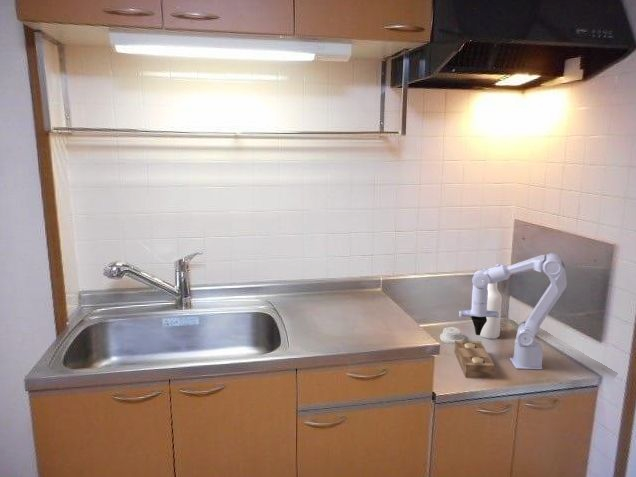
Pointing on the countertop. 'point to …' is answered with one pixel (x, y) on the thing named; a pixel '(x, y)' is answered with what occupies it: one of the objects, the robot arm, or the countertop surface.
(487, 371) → the collar bar
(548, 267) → the robot arm
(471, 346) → the peg
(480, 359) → the peg
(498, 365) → the countertop surface
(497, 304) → the white milk bottle
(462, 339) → the mechanical component
